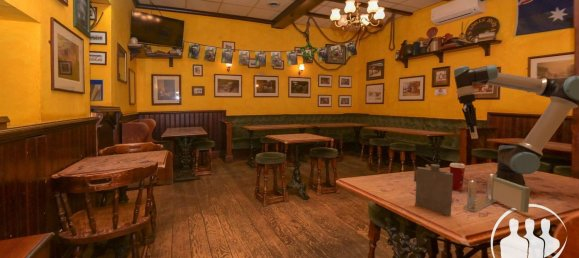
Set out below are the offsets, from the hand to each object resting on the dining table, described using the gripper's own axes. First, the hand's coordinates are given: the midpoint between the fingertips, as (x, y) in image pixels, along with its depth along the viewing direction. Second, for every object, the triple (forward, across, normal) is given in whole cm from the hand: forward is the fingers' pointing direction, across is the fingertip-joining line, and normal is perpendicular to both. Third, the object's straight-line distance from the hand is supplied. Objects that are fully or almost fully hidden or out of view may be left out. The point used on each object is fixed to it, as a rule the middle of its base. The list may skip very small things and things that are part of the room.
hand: (474, 138), depth 156 cm
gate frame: (+30, +22, +5) cm, 38 cm away
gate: (+31, +18, +14) cm, 38 cm away
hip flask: (+28, +46, -6) cm, 54 cm away
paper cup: (+26, +4, -12) cm, 29 cm away
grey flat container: (+22, +1, -32) cm, 39 cm away
